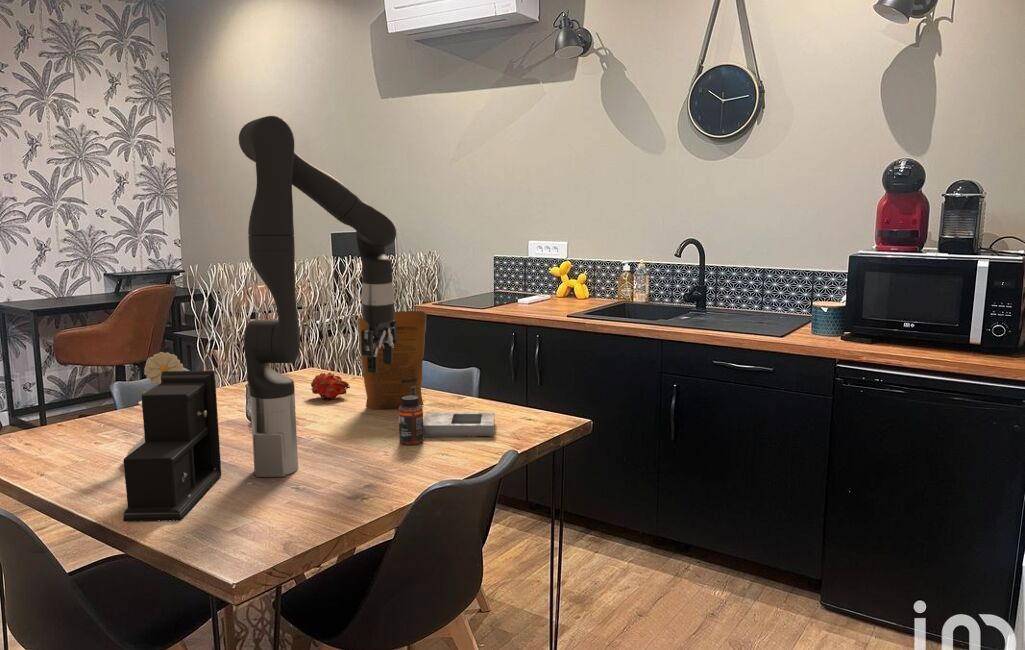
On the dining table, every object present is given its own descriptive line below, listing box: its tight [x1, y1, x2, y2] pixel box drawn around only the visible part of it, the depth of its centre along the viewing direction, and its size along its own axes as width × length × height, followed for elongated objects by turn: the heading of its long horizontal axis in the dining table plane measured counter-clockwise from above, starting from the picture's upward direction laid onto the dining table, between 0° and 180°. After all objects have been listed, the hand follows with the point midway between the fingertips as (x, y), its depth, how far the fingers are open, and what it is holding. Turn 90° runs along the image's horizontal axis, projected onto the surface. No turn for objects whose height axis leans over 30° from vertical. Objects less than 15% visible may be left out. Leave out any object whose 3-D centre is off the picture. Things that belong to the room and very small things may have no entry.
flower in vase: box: [126, 351, 184, 457], centre depth 172 cm, size 13×11×25 cm
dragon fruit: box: [310, 372, 351, 400], centre depth 229 cm, size 8×8×12 cm
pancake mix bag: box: [357, 310, 427, 410], centre depth 216 cm, size 7×19×28 cm, turn 96°
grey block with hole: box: [423, 411, 496, 438], centre depth 197 cm, size 12×18×3 cm, turn 90°
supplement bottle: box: [397, 396, 425, 446], centre depth 186 cm, size 6×6×11 cm
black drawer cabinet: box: [122, 370, 222, 522], centre depth 150 cm, size 23×11×24 cm, turn 3°
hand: (380, 367), depth 183 cm, fingers open, 8 cm apart
